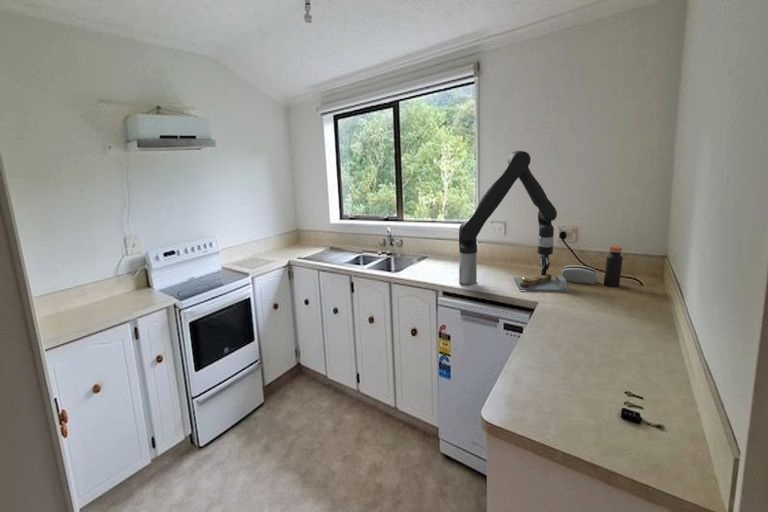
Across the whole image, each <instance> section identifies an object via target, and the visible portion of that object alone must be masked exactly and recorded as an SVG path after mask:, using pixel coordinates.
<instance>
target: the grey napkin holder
mask: <svg viewBox="0 0 768 512" xmlns="http://www.w3.org/2000/svg"><path fill="white" fill-rule="evenodd" d="M561 272H562V273H561V276H563V277H564V278H565V279H566V282H576V283H582V284H583V283H584V284H591V285H596V284H597V272H596V269H595V268H592V267H589V266H585V265H579V264H578V265H575V264H572V265H565V266H564V267H563V268H562V271H561Z"/></svg>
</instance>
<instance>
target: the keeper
mask: <svg viewBox="0 0 768 512" xmlns="http://www.w3.org/2000/svg"><path fill="white" fill-rule="evenodd" d="M555 278H556V279H557V280H558V282H559V287H558V289H561V290H566V289H567V281H566V279H565V278H564V277H563V276H562V275H556V276H555Z"/></svg>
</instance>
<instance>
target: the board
mask: <svg viewBox="0 0 768 512" xmlns="http://www.w3.org/2000/svg"><path fill="white" fill-rule="evenodd" d="M522 278H523V277H516V276H515V277H514V278H513V281H514V283H515V285H516V286H518V287H517V289H518V288H519V289H518V291H519V290H526V291H525V292H539V291H546V292H548V293H549V292H550V293H552V292H553V293H568V289H567V288H566V290H561V289H558V287H559V282H558V280H557V279H556V277H551V280H550V281H546V282H542V283H538V284H535V285H531V286H529V287H521V286H520V281H521V280H522ZM527 278H528V279H530V278H531V277H527ZM546 292H545V293H546Z"/></svg>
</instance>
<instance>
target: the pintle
mask: <svg viewBox="0 0 768 512" xmlns="http://www.w3.org/2000/svg"><path fill="white" fill-rule="evenodd" d="M521 278H522V281H525V282H526V281H528V278H529V277H526V276H523V277H521Z"/></svg>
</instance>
